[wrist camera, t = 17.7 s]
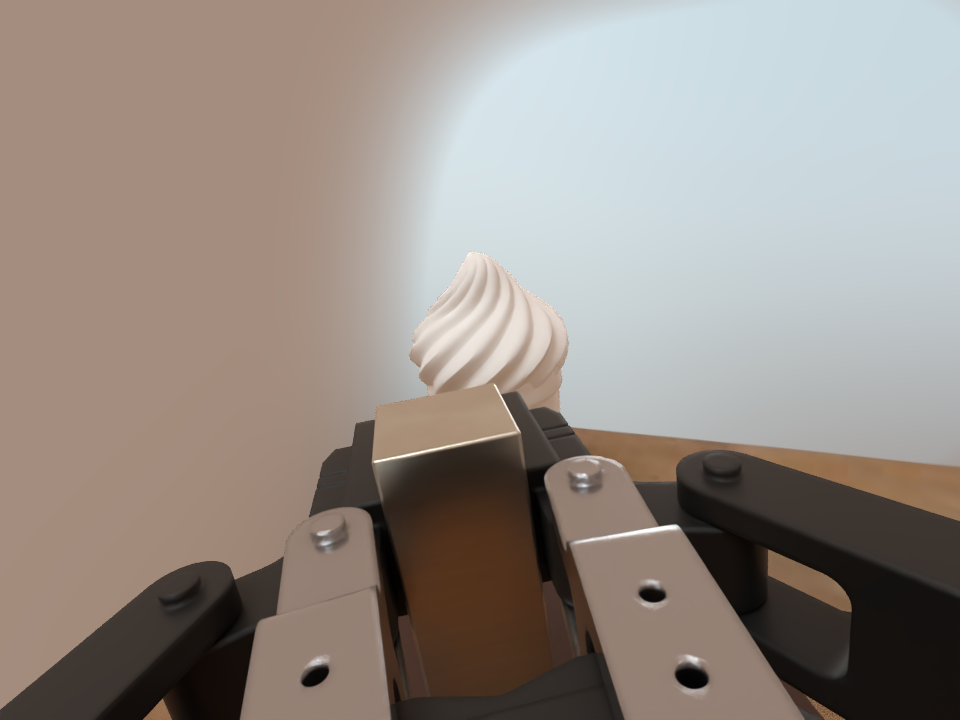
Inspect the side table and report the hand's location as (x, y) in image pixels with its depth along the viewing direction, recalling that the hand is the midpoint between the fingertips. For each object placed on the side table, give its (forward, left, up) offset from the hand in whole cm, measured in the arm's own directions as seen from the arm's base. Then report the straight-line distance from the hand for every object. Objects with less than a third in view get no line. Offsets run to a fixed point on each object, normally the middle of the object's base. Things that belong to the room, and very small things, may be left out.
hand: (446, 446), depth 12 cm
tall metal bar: (+2, -2, -13) cm, 13 cm away
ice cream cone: (-8, +15, -14) cm, 22 cm away
